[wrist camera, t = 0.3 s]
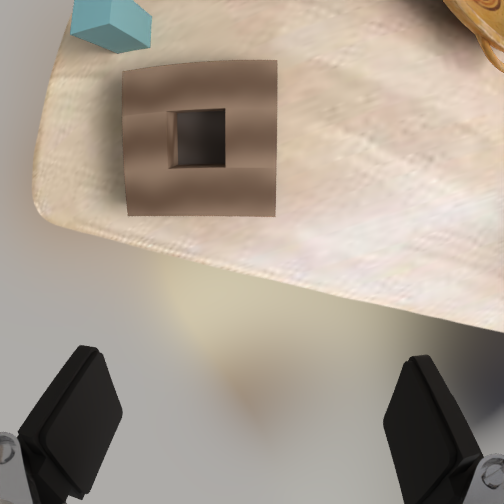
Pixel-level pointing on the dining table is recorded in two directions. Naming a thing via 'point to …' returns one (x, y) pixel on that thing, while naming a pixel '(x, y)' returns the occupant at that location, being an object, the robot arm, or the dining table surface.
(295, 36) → the dining table surface
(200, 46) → the dining table surface
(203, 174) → the bore block
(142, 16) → the peg
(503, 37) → the ceramic bowl
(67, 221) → the dining table surface
